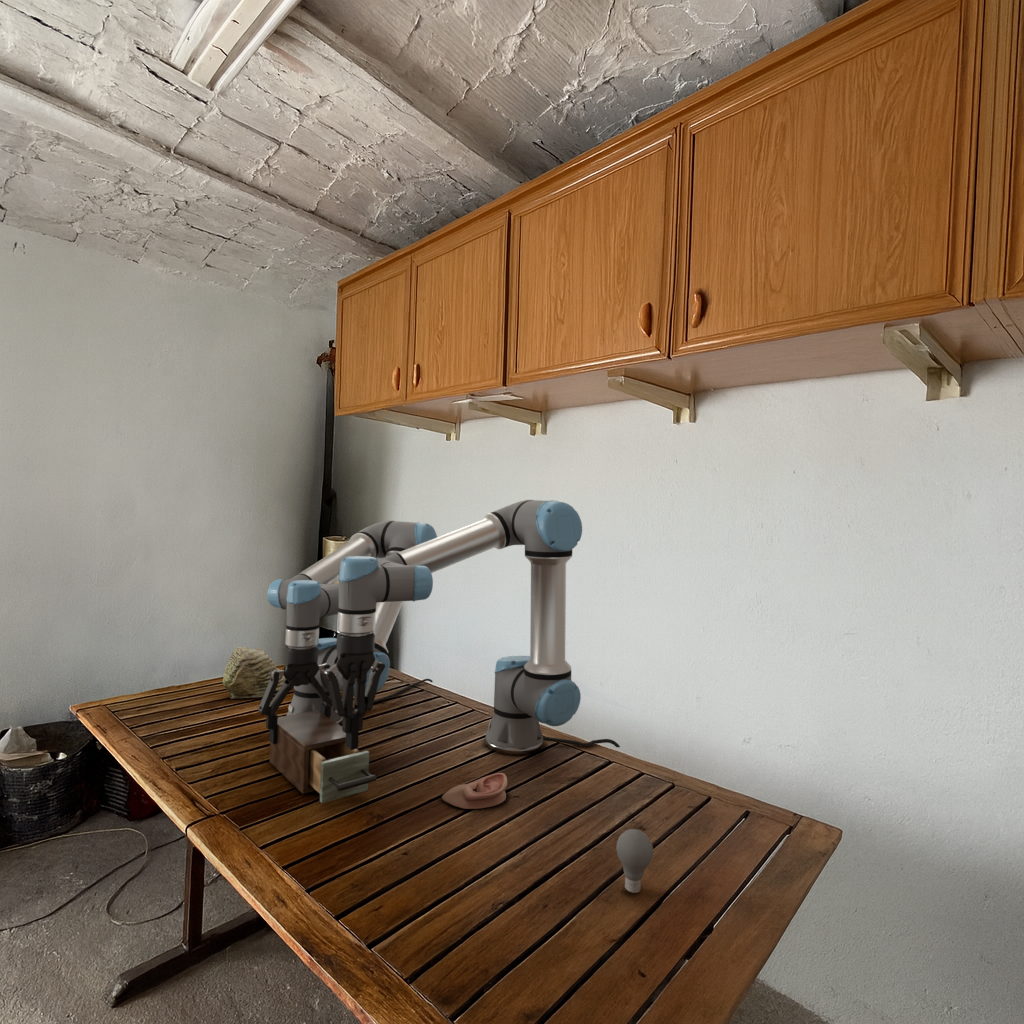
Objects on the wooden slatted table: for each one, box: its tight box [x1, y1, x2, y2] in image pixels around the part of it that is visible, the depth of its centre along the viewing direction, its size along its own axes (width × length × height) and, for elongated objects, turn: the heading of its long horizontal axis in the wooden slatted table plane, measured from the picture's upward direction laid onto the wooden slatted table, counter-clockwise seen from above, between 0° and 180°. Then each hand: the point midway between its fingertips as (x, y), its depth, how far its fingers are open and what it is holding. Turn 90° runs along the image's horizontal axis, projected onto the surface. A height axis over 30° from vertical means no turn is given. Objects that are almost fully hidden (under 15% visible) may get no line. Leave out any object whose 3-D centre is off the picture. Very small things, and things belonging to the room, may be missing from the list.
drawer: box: [308, 742, 377, 804], centre depth 137 cm, size 25×10×8 cm, turn 40°
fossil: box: [222, 646, 286, 699], centre depth 198 cm, size 9×18×15 cm, turn 132°
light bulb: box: [615, 828, 654, 894], centre depth 106 cm, size 6×6×10 cm
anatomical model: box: [441, 772, 508, 810], centre depth 136 cm, size 13×4×12 cm
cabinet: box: [268, 710, 346, 795], centre depth 146 cm, size 21×11×10 cm, turn 40°
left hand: (298, 736), depth 151 cm, fingers closed on cabinet, 11 cm apart
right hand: (351, 747), depth 130 cm, fingers closed
